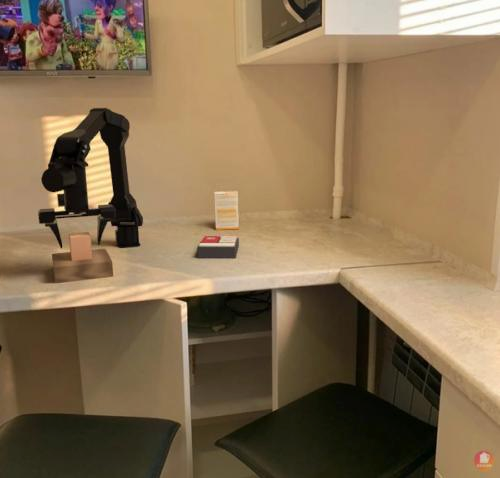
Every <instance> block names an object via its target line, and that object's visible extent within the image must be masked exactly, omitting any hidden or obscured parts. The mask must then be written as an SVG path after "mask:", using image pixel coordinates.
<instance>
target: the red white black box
mask: <svg viewBox="0 0 500 478" xmlns="http://www.w3.org/2000/svg"><path fill="white" fill-rule="evenodd" d="M239 240H240V238H239V237H238V236H236V235H222V236H220V235H205V236H203V238H202V239H201V241H200V242H199V244H198V245H197V246H196V252H197V254H196V255H197V256H196V257H197V258H196V259H202V260H203V259H207V260H208V259H218V260H219V259H220V260H221V259H223V260H224V259H226V260H227V259H230V260H231V259H232V260H233V259H237V256H238V250H239V246H240V241H239Z"/></svg>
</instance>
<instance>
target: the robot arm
mask: <svg viewBox="0 0 500 478" xmlns="http://www.w3.org/2000/svg"><path fill="white" fill-rule="evenodd" d="M98 134H99V135H100V139H101V140H102V142H103V143H104V145H105V146H106V147H107V152H108V153H107V154H108V160H109V162H108V163H109V169H110V178H111V187H112V194H113V195H112V198H111V199H110V201H109V202H108V204H106V203H105V204H98V205H97V208H90V207H89V195H88V185H87V172H86V171H87V169H86V167H89V163H88V162H87V161H86V158H87V156H88V155H89V154H90V152H91V142H92V141H93V140H94V138H95V137H96V136H97V135H98ZM129 137H130V121H129V120H128V119H127V118H126V116H124V115H123V114H121V113H118V112H115V111H112V110H111V109H110V108H108V107H93V108H91V109H90V110H89V113H88V114H87V115H86V117H85V118H83V120H82V121H80V123H79V124H78V125H77V126H76V127H75V128H74V129H73V130H71V131H67V132H64V133H62V134H61V135H59V136H58V137H57V138H56V139H55V142H54V145H53V147H52V152H51V156H50V159H49V163H47V168H46V169H45V170H44V171H43V173H42V176H41V184H42V186H43V187H44V189H45V190H46V191H48V192H50V193H57V192H63V193H57V194H56V195H57V196H56V197H57V206H58V208H61V207H64V210H58V211H57V210H56V211H55V208H54V207H53V208H40V209H39V210H38V211H37V214H38V215H37V216H38V222H39V224H42V225H44V227H45V228H50V230H51V232H53V235H54V237H55V239H56V241H57V243H58V245H59V247H60V249H63V242H62V237H61V234H60V233H61V232H60V230H59V229H60V228H59V226H58V221H57V220H58V219H73V218H81V217H83V218H85V217H96V216H97V219H96V220H97V232H96V242H97V246H100V244H101V241H102V238H103V234H104V231H105V229H106V227H107V225H108V223H109V222H110V224H111V227H116V229H115V230H114V234H115V235H114V236H115V237H114V238H115V243H116V245H117V246H118V247H119V248H128V247H138V246H139V247H140V246H141V243H140V237H139V235H140V234H139V233H140V232H139V227H142V226H143V224H144V217H143V216H142V214H141V211H140V210H139V208H138V206H137V205H138V203H137V200H136V199H135V198H134V196H133V195H132V194H131V193H130V184H129V183H130V182H129V176H128V175H129V174H128V167H127V166H128V165H127V156H126V147H125V145H126V143H127V141H128V139H129Z"/></svg>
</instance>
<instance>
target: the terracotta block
mask: <svg viewBox="0 0 500 478" xmlns="http://www.w3.org/2000/svg"><path fill="white" fill-rule="evenodd" d="M68 243H69V252H70V254H71V259H72V261H76V260H85V259H92V250H93V248H92V240H91V234H90V232H88V231H85V232H74V233H68Z"/></svg>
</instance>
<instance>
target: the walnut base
mask: <svg viewBox="0 0 500 478" xmlns="http://www.w3.org/2000/svg"><path fill="white" fill-rule="evenodd" d="M51 259H52V268H53V269H52V270H53V276H54V282H55V284H59V283H68V282H69V283H70V282H75V281H76V282H77V281H84V280H85V281H87V280H94V279H103V278H112V277H114V270H113V269H114V268H113V265H114V264H113V261H112V259H111V256H110V254H109V252H108V250H107V248H99V249H92V259H85V260H76V261H72V259H71V254H70V251H68V252H66V251H65V252H58V253H55V252H54V253H51Z"/></svg>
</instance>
